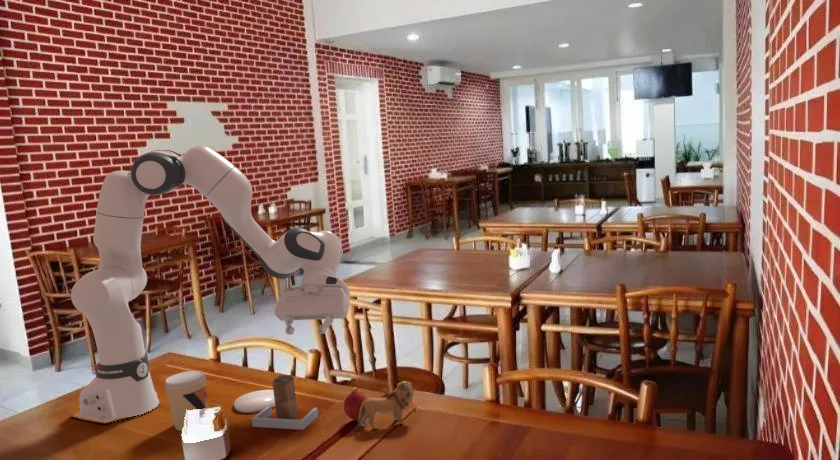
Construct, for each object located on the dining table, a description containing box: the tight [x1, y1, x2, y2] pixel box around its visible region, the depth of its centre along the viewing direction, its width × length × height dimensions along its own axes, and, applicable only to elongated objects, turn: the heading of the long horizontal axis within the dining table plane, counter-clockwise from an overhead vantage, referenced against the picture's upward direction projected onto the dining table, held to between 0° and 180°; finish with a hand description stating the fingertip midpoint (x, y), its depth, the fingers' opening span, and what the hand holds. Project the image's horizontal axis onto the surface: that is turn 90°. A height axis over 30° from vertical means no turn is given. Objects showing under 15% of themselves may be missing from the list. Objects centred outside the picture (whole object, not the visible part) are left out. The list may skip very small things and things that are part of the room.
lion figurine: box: [353, 380, 414, 430], centre depth 144 cm, size 15×5×9 cm, turn 111°
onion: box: [343, 387, 368, 422], centre depth 147 cm, size 6×6×8 cm
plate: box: [233, 389, 276, 414], centre depth 165 cm, size 12×12×1 cm
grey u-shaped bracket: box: [250, 406, 319, 431], centre depth 151 cm, size 14×8×2 cm, turn 72°
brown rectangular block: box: [272, 374, 299, 420], centre depth 152 cm, size 4×4×10 cm
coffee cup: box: [164, 370, 208, 431], centre depth 155 cm, size 9×9×12 cm
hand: (305, 333), depth 162 cm, fingers open, 8 cm apart
